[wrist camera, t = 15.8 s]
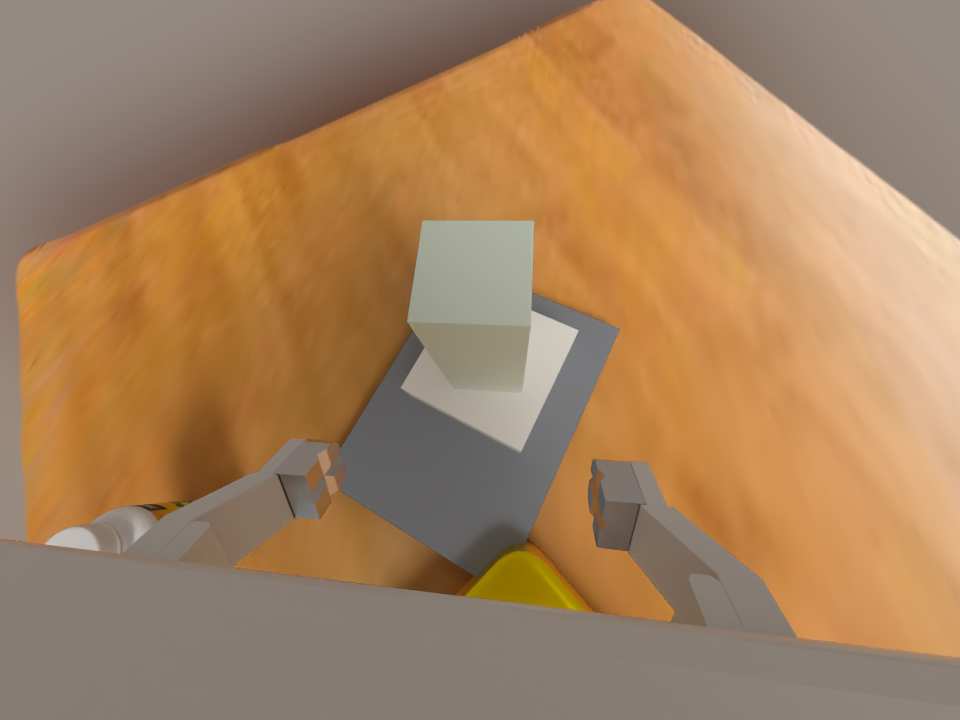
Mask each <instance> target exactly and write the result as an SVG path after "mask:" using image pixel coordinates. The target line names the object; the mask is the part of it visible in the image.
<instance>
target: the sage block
mask: <svg viewBox="0 0 960 720" xmlns="http://www.w3.org/2000/svg"><path fill="white" fill-rule="evenodd" d="M533 245H534V221H422V227H421V234H420V240H419V247H418V253H417V260H416V267H415V273H414V280H413V286H412V293H411V299H410V306H409V312H408V319H407V323H408V324H409V326H410V327H411V328H412V330H413V331H414V333H415V334H416V336H417V337H418V338H419V340H420V341H421V343H422V344H423V346H424V347H425V348H426V350H427V351H428V353H429V354H430V356H431V357H432V358H433V360H434V361H435V363H436V364H437V366H438V367H439V368H440V370H441V371H442V373H443V374H444V376H445V377H446V378H447V380H448V381H449V383H450V384H451V386H452V387H453V388H454V389H459V390H477V391H496V392H514V393H522V390H523V382H524V374H525V367H526V359H527V352H528V344H529V337H530V329H531V307H532V276H533Z"/></svg>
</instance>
